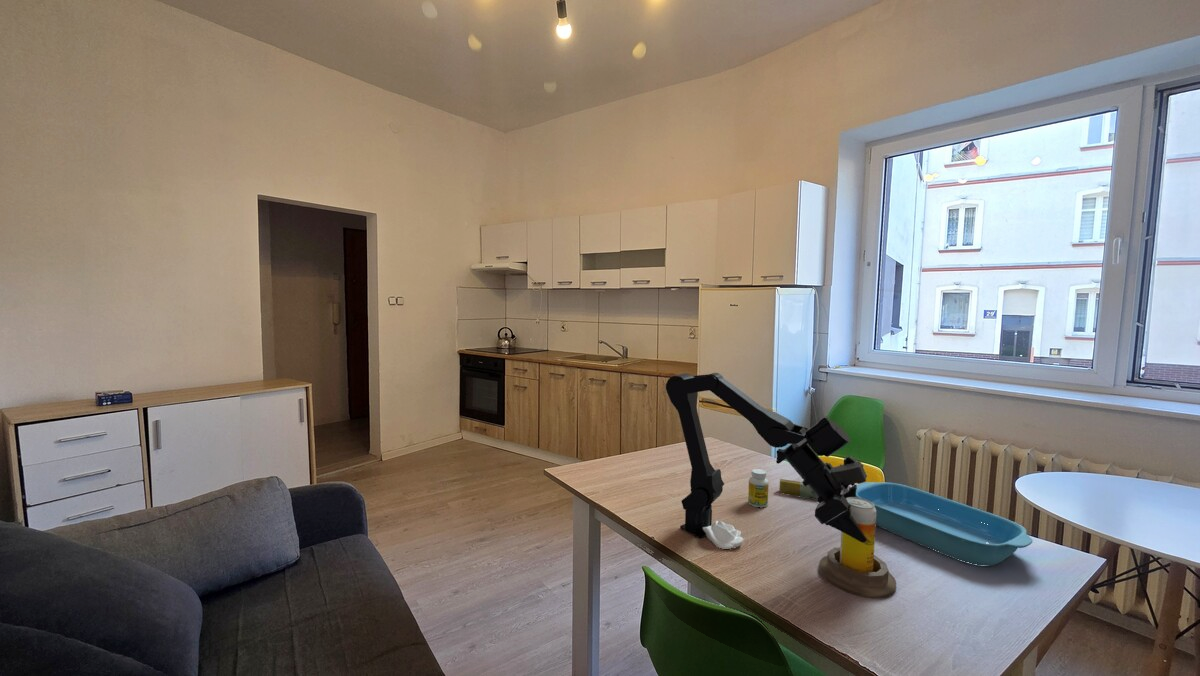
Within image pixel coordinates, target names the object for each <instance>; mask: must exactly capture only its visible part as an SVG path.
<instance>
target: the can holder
mask: <svg viewBox="0 0 1200 676" xmlns="http://www.w3.org/2000/svg"><path fill="white" fill-rule="evenodd" d="M818 564H819V565H818V570H819V573H820V575H821V576H822V578H824V580H826V581H827V582H828V583H829V584H831V585H833V586H835V587H836V588H838V589H839V590H842V591H844V592H846V593H848V594H852V595H855V596H859V597H862V598H863V597H864V598H869V599H870V598H871V599H884V598H889V597H891V596H893V595H894V594H895V593H896V590H897V580H896V579H895V577H894V576H893V574H892V573H891V572H890V571H889V568H888V565H887V563H886V561H883V560H882V559H881V558H880V557H878V556H877V555H876V554H874V561H873V572H870V573H866V572H861V571H856V570H852V569H850V568H848V567H846V566H843V565H842V564H840V547H833V548H831V549H830V550H828V551H827V555H825V556H823V557H822V558H821V559H820V560H819V563H818Z"/></svg>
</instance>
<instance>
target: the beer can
mask: <svg viewBox="0 0 1200 676" xmlns="http://www.w3.org/2000/svg"><path fill="white" fill-rule="evenodd" d="M846 499H847V501H848V503H849V505H850V504H851V516H852V517H853V519H854V520H855V522H856V523H857V525H858V526H859V528H860V529H861V531H862V532H863V534H864V535H865V537H866V539H867V541H865V542H864V543H862V542H860V541H858V540H856V539H855V538H853V537H851V536H849V535H847V534H845V533H843V532H842V531H840V564H842V565H843V566H846V567H848V568H850V569H852V570H856V571H861V572H866V573H870V572H873V561H874V555H875V543H876V526H877V525H876V509H875V506H874V504H873V503H872V502H871V501H869V500H866V499H863V498H858V497H848V498H846Z"/></svg>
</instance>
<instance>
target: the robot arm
mask: <svg viewBox="0 0 1200 676" xmlns="http://www.w3.org/2000/svg"><path fill="white" fill-rule="evenodd" d="M665 391H666V393H667V397H668V398H669V401H670V403H671V404H672V406H673V407H674V408H675V409H676V411H677V412H678V413H677V414H678V417H679V420H680V426H681V428H682V434H683V438H684V441H685V445H686V450H687V455H688V458H689V462H690V467H691V471H690V472H691V473H690V481H689V485H690V493H689V494H688V495H686V496H685V497H684V498H682V499H681V506H682V509H683V510H685V511H684V512H685V518H684V523H683V524H681V525H680V526H679V528H680V529H681V530H683V531H686V532H687V533H688V534H691V535H693V536H695V537H696V538H699V539H700V538H703V537H706V533H705V532H704V530H703V529H702V528H703V527H708V526H712V525H713V524H712V520H713V519H712V518H713V517H712V516H713V510H712V505H713V503H715V501H716V500H717V499H718V498H719V497H720V496H721V495H722V493H723V491H724V490H723V486H724V485H725V482H724V480H723V479H722V472H721V469H720V468H717V469H715V468H714V467H713V465H712V464H711V461H710V458H709V453H708V451H707V450H708V449H707V445H706V441H705V437H704V433H703V430H702V429H703V428H702V425H701V421H700V417H699V413H698V408H697V407H698V406H697V404H698V397H699V394H698V393H701V392H708V391H709V392H711V393H712V394H714V395H715V396H717V398H719V399H721V401H723V403H725V404H726V405H728V406H729V407H730V408H731V409H733V410H734V411H736V412H737V413H738V414H740V415H741V416H742V417H743V418H745V419H746V420H747V421H749V422H750V424H751V425H752V426H753V427H754V429H755V430H756V431H755V432H757V434H758V435H759V436H760V437H761V438H762V439H763V440H764V441H765V442H766V443H767V444H768V445H769V446H771V447H772V448H778V449H777V450H776V460H775V462H776V464H781V463H782V462H784V461H785V460H786V461H787V463H789V465H790V466H791V467H792V468H793V469H794V470H795V472H796V473H797V474H798V475H799V477H800V478H802V481H801V482H802V483H803V484H804V486H805V487H806V486H807V485H808V486H809V487H810V488H811V489H812V490H813V491H814V493H815V494H816V495H817V498H816V499H815V500H816V501H817V502H818V503H817V505H816V507H815V509H814V517H815V518H816V519H817V521H818V522H819V524H821V525H825V526H829V527H832V528H834V529H836V530H838V531H840V532H841V531H842V532H843V533H845V534H847V535H849V536H851V537H853V538H855V539H856V540H858V541H860V542H862V543H864V542H865V541H867V539H866V537H865V535H864V534H863V532H862V531H861V529H860V528H859V526H858V525H857V523H856V522H855V520H854V519H853V517H852V516H851V504H850V505H849V503H848V501H847V499H846V498H848V497H856V490H857V485H858V484H860V483H866V482H867V477H868V475H867V472H866V470H865V468H864V464H863V463H862V462H861V461H860V460H857V459H855V458H854V457H853V456H847V457H846V456H845V457H844V458H843V464H839V465H837V466H833V465H832V464H831V463H830V462H828V461H826V462H824V460H822V458H821V457H823V456H824V457H827V458H828V457H830V456H832V455H833V454H834V453H837V452H838V451H839V450H840V449H842V448H844V447H845V446H846V445H848V444H849V443H851V438H850V436H849V435H848V434H847V432H846V431H845V430H844V429H843V427H841V425H839V424H837V423H836V422H835V421H833V420H832V419H830V418H829V417H828V416H827V415H825V416H824V417H822V418H820V419H819V421H818V422H817V423H816V424H814V425H812V426H811V427H810V428H809V427H806V426H802V425H798V424H795V423H794V422H792V420H791V419H789V418H787V417H785V416H783V415H781V414H780V413H777V412H776V411H773V410H770V409H767V408H765V407H764V406H761V405H760V404H759V403H758V402H756V401H755V400H754V399H752V398H751V397H750V396H748V394H746V393H744V392H743V391H741V390H740V389H739V388H738V387H737V386H735V385H734V384H732V383H731V382H730V381H729V380H727V379H726V378H724V377H723V375H722V374H721V373H719V372H712V373H707V374H700V375H699V374H698V375H692V374H690V373H679V374H676V375H673V376H670V377H669V378H668V380H667V381H666V383H665ZM803 440H804V441H803ZM800 442H801V443H800ZM788 444H789V446H788ZM786 446H787V447H786ZM784 447H786V448H785V449H781V448H784ZM819 456H820V457H819Z"/></svg>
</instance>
